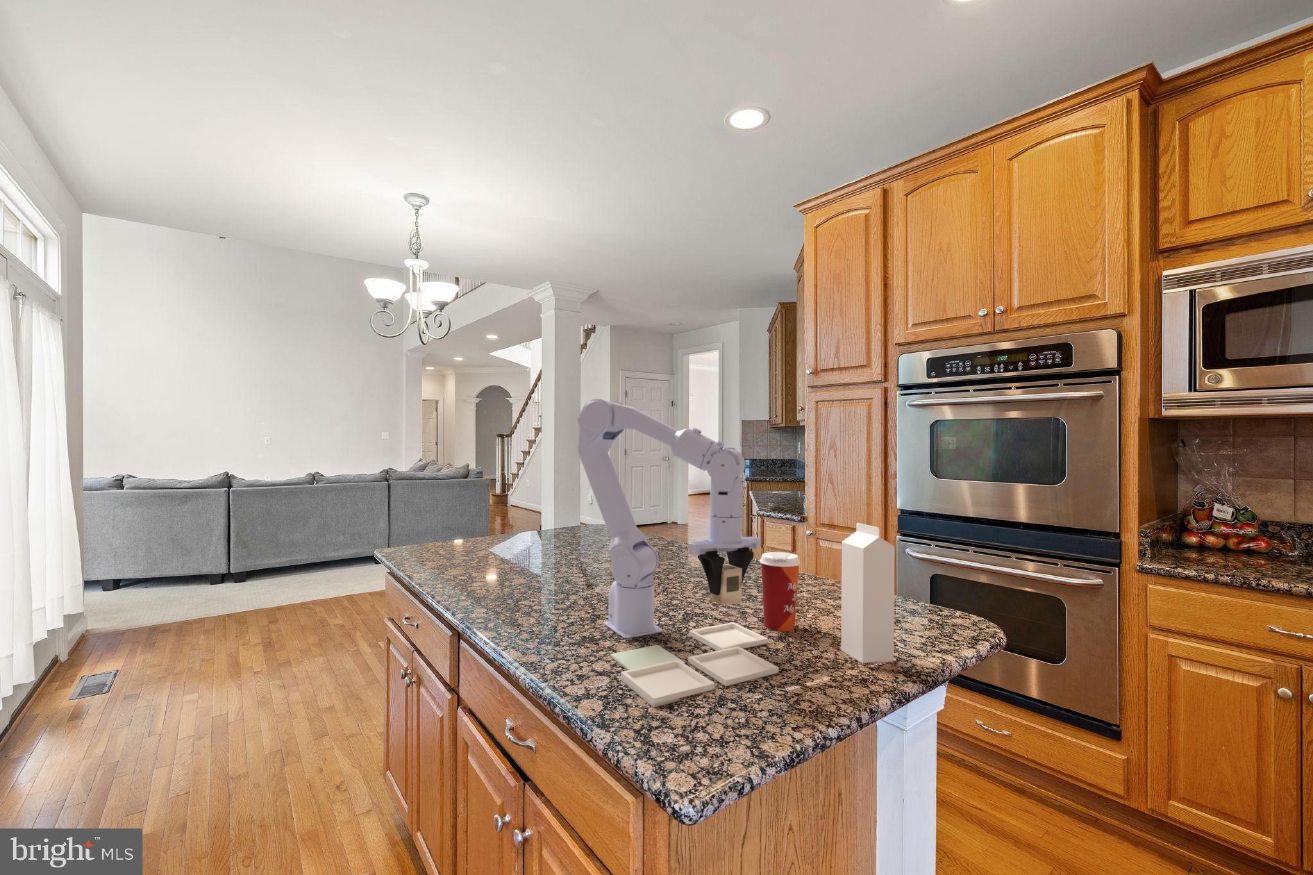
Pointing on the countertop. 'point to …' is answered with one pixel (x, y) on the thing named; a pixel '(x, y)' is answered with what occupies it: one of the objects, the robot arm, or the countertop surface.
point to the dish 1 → (666, 682)
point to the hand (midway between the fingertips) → (725, 592)
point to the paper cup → (779, 589)
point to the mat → (643, 657)
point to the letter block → (729, 586)
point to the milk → (867, 596)
